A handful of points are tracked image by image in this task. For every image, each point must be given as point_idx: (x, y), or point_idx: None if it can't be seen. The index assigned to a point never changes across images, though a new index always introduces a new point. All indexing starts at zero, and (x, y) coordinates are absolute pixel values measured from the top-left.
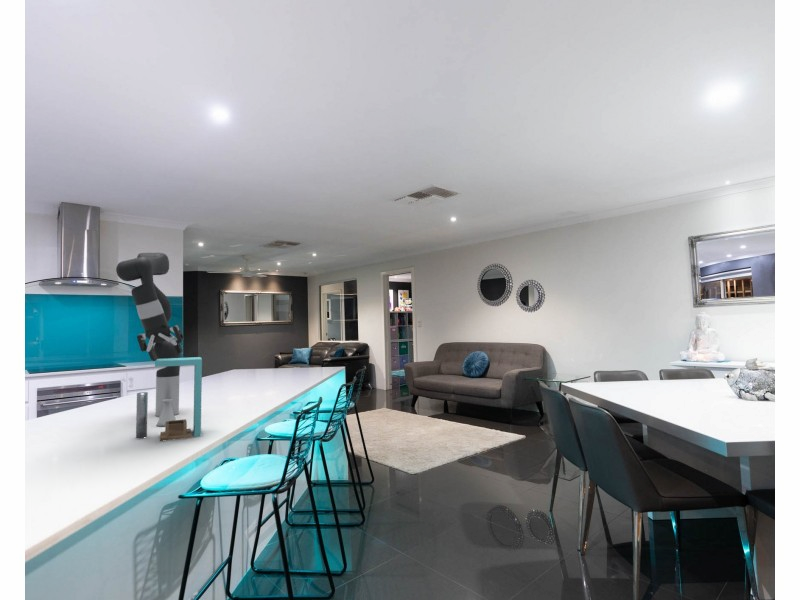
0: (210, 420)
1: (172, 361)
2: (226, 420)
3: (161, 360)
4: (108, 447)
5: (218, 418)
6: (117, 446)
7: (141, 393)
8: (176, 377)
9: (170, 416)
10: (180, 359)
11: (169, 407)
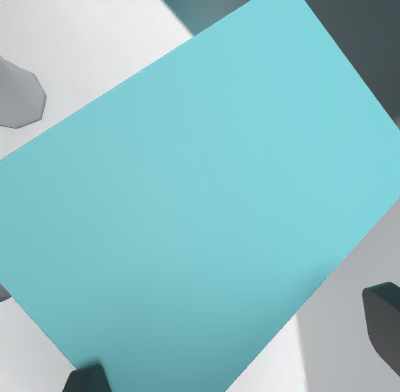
0: (128, 38)
1: (275, 326)
2: (179, 37)
3: (168, 364)
4: (29, 375)
5: (137, 12)
6: (50, 358)
7: (3, 293)
8: None
9: (24, 93)
10: (281, 220)
11: (3, 72)
